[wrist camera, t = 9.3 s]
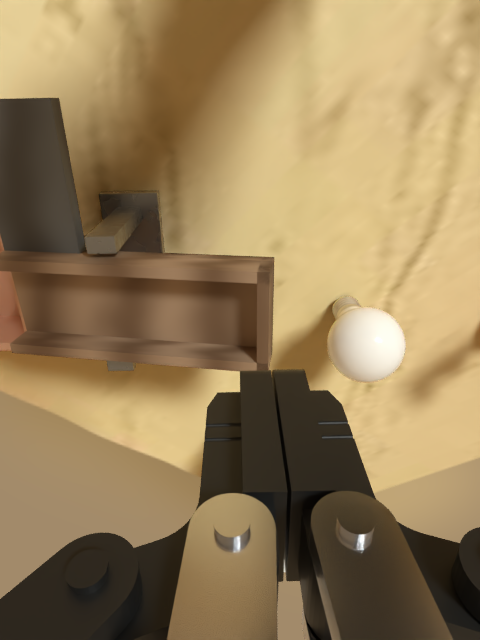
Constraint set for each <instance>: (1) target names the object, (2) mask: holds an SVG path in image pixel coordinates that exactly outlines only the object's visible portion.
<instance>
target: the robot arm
mask: <svg viewBox="0 0 480 640" xmlns="http://www.w3.org/2000/svg"><path fill="white" fill-rule="evenodd" d="M284 562H285V571H286V580H287V581H300V585H301V592H302V599H303V614H302V628H303V634H304V639H305V640H480V527H479V528H475V529H473V530H471V531H469V532H468V533H467V534H465V535H464V537H463V538H462V540H461V542H460V543H457V542H452V541H449V540H445V539H441V538H438V537H434V536H430V535H426V534H423V533H420V532H417V531H414V530H412V529H410V528H407V527H405V526H404V525H402V524H400V523H399V522H397V521H396V519H395V517H394V516H393V514H392V513H391V512H390V511H389V509H387V508H386V507H385V506H384V505H383V504H382V503H380V502H379V501H378V500H376V498H375V496H374V493H373V491H372V488H371V485H370V482H369V479H368V477H367V474H366V471H365V468H364V465H363V463H362V460H361V457H360V454H359V451H358V449H357V446H356V443H355V440H354V439H353V435H352V432H351V429H350V426H349V424H348V421H347V418H346V415H345V412H344V409H343V407H342V404H341V403H340V402H339V401H338V400H337V399H336V398H335V397H334V396H333V395H332V394H331V393H330V392H329V391H328V390H325V391H310V389H309V385H308V382H307V378H306V374H305V371H304V369H299V370H273V372H272V375H271V370H252V371H240V392H226V393H217V394H216V396H215V397H214V399H213V400H212V401H211V403H210V404H209V406H208V407H207V418H206V430H205V442H204V453H203V464H202V476H201V487H200V498H199V503H198V506H197V509H196V511H195V513H194V514H193V516H192V517H191V519H190V520H189V521H188V522H187V523H186V524H185V525H184V526H183V527H182V528H181V529H179V530H178V531H177V532H175V533H173V534H171V535H170V536H168V537H165V538H163V539H160V540H157V541H154V542H152V543H148V544H146V545H142V546H139V547H136V548H133V547H132V545H131V544H130V543H129V542H128V541H127V540H125V539H124V538H122V537H121V536H118V535H116V534H111V533H95V534H90V535H86V536H83V537H81V538H78V539H76V540H74V541H72V542H71V543H69V544H67V545H66V546H65V547H64V548H62V549H61V550H60V551H58V552H57V553H56V554H55V555H53V556H52V557H51V558H50V559H49V560H47V561H46V562H45V563H44V564H42V565H41V566H40V567H39V568H38V569H36V570H35V571H34V572H33V573H32V574H30V575H29V576H28V577H27V578H25V579H24V580H23V581H22V582H20V583H19V584H18V585H17V586H16V587H14V588H13V589H12V590H11V591H10V592H8V593H7V594H6V595H5V596H3V597H2V598H1V599H0V640H277V601H278V582H281V581H283V573H284Z"/></svg>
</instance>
